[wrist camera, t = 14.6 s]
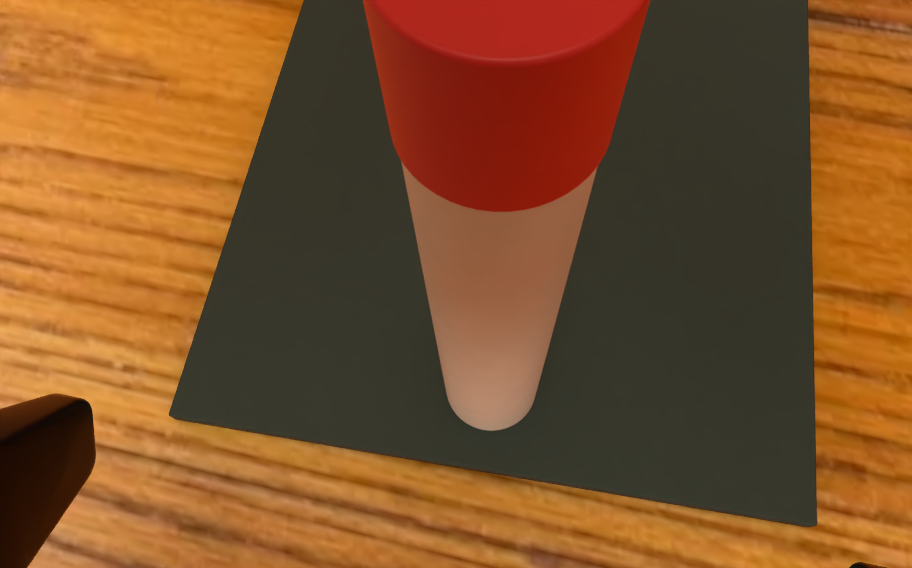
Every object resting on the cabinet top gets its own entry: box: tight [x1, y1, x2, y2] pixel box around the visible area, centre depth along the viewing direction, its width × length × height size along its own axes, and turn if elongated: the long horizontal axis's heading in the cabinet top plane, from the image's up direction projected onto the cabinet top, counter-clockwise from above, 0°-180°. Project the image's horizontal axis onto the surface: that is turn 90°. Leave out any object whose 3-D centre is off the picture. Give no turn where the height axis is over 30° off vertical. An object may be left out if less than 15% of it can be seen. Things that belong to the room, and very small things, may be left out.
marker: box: [363, 0, 650, 431], centre depth 10 cm, size 2×2×12 cm
